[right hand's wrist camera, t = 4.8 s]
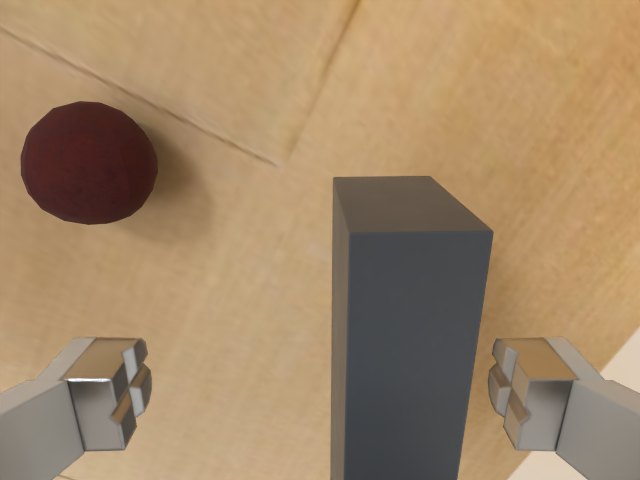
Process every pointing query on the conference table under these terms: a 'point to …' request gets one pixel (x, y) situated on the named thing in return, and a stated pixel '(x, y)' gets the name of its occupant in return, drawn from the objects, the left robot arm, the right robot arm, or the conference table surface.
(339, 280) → the bar
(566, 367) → the right robot arm
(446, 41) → the conference table surface
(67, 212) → the dark red ball
